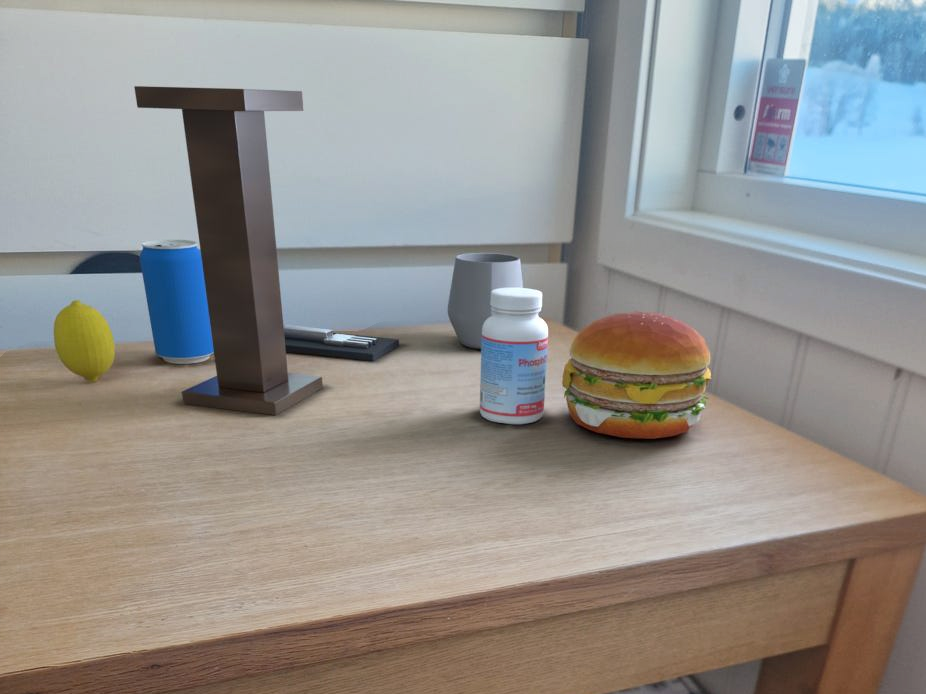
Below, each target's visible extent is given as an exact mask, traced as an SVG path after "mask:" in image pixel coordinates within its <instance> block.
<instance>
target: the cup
mask: <svg viewBox="0 0 926 694" xmlns="http://www.w3.org/2000/svg"><path fill="white" fill-rule="evenodd" d="M450 283H451V284H450V290H449V297H448V301H447V309H446V311H447V316H448V318H449V321H450V323H451V326H452V329H453V330H454V332H455V335H456V337H457V339H458V341H459V343H460V344H461V345H463V346H465V347H466V348H470V349H476V350H481V344H482V327H483V324H484V322H485V321H486V320H487V319H488V318H489V317H491V316H493V310H492V309H491V305H490V301H491V291H492V290H494V289H499V288H524V282H523V273H522V265H521V258H520V257H519V256H517V255H513V254H507V253H500V252H499V253H498V252H470V253H463V254H458V255H456V256H455V259H454V265H453V271H452V278H451V282H450Z"/></svg>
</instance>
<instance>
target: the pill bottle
mask: <svg viewBox="0 0 926 694" xmlns="http://www.w3.org/2000/svg"><path fill="white" fill-rule="evenodd" d="M490 305H491V309H492V310H493V316H491V317H489V318H488V319H487V320H486V321H485V322H484V324H483V327H482V344H481V349H480V384H479V386H480V387H479V390H480V391H479V413H480V415H481V417H482V418H484V419H486V420H488V421H490V422H493V423H499V424H505V425H506V424H507V425H527V424H530V423H531V424H532V423H534V422H537V421H539V420H541V418H542V417H543V415H544V411H545V409H544V408H545V396H546V395H545V394H546V377H547V361H548V346H549V345H548V344H549V328H548V324H547V323H546V321H545V320H544V319H543V318H541V317H539V312H541V311H542V307H543V292H542V291H541V290H538V289H534V288H528V287H527V288H526V287H523V288H499V289H494V290H492V291H491V301H490Z"/></svg>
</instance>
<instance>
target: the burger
mask: <svg viewBox="0 0 926 694" xmlns="http://www.w3.org/2000/svg"><path fill="white" fill-rule="evenodd" d="M569 356H570V358H569V359H568V361H567V362H566V364H565V365H564V369H563V373H562V381H561V384H562V387H563V388H564V389H566V390H565V391H564V394H563V399H566V405H567V409H568V412H569V413H570V416H571V418H572V419H573V421H574V422H575V423H576V424H577V425H578V426H581V427H583V428H585V429H587V430H589V431H592V432H595V433H597V434H602V435H608V436H614V437H618V438H621V439H622V438H623V439H644V440H645V439H648V440H649V439H650V440H653V439H662V438H668V437H674V436H677V435H681V434H683V433H686V432H688V431H689V430H690V429H691V428H692V427H694V425H695V424H697V423H698V422H699V421H700V420H701V416H702V414H703V411H704V410H705V409H706V404H707V400H709V397H707V395H706V394H705V391H706V388H707V386H708V385H709V381H711V380H712V377H711V376H712V373H711V370H710V369H709V368H708V367H709V365H710V364H711V353H710V349H709V346H708V343H707V342H706V340H705V339H704V337H703V336H702V335H701V334H700V333H699V332H698V331H697V330H695V329H694V328H693V327H692V326H691V325H689V324H687V323H685V322H684V321H682V320H680V319H677V318H675V317H672V316H669V315H665V314H661V313H657V312H649V311H647V312H646V311H629V312H620V313H614V314H610V315H607V316H603V317H601V318H599V319H596V320H594V321H592V322H591V323H590V324H588V325H587V326H585V327H583V329H581V330H580V331H579V332H578V334H577V335H576V336H575V337H574V339H572V342H571V345H570V347H569Z"/></svg>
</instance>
